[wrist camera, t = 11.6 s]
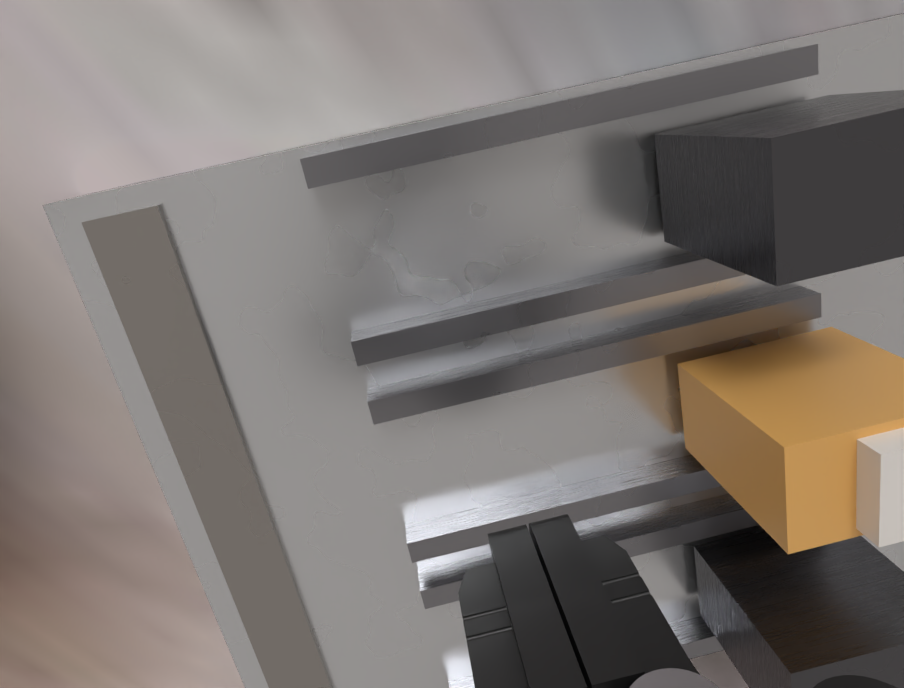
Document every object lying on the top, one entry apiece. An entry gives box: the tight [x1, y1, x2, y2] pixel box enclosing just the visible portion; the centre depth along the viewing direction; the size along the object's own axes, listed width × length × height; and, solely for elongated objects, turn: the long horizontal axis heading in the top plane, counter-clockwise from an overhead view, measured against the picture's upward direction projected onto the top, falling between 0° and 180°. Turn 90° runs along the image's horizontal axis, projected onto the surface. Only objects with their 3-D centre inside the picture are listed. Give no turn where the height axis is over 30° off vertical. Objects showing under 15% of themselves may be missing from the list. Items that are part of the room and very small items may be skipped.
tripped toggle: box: [677, 327, 904, 554], centre depth 14 cm, size 2×4×5 cm, turn 102°
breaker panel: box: [43, 13, 904, 688], centre depth 15 cm, size 16×22×7 cm
